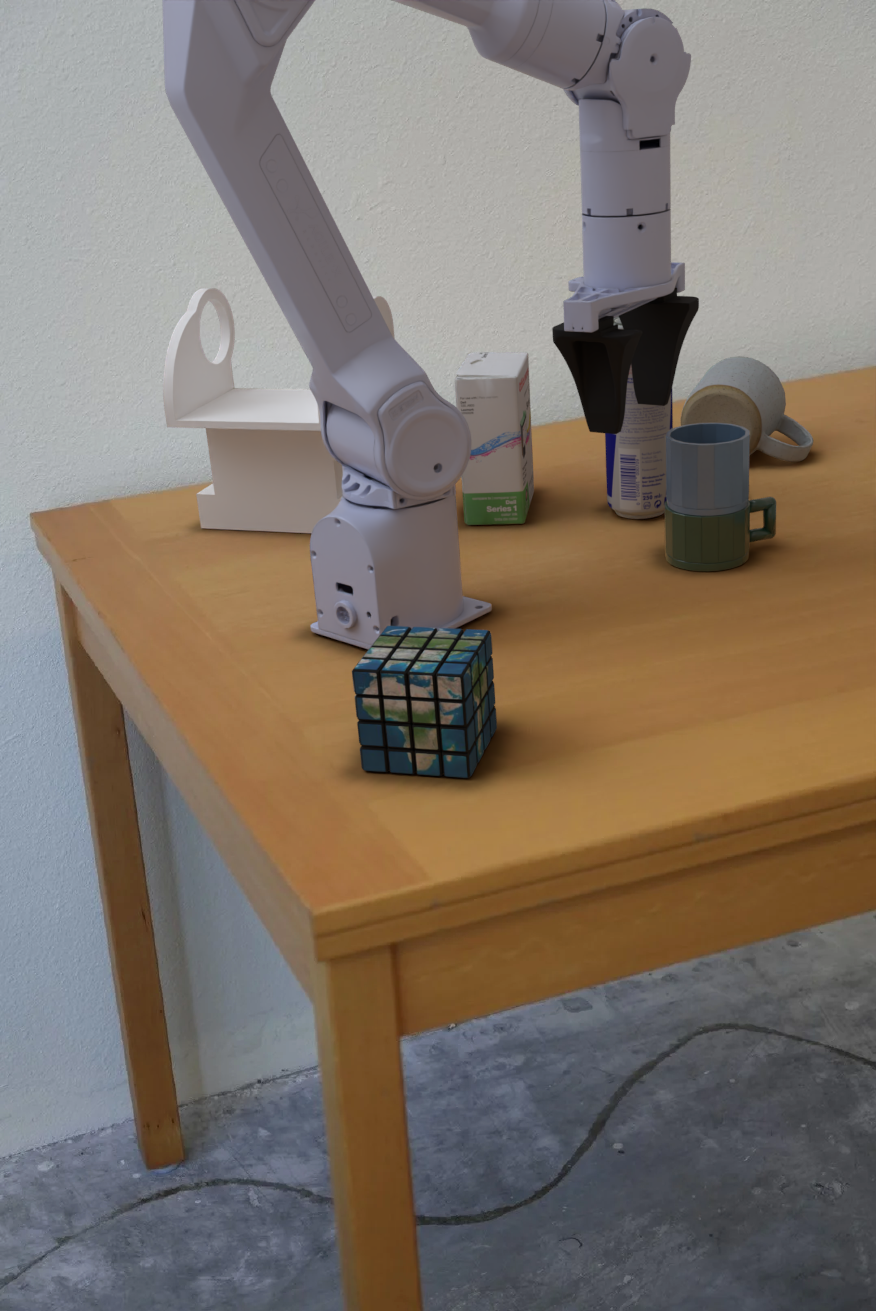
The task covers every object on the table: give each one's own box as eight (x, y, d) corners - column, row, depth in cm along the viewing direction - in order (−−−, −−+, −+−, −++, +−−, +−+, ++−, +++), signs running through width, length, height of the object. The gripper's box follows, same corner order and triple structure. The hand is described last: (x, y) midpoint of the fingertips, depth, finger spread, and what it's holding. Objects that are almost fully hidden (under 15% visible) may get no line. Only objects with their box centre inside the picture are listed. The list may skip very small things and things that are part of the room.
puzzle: (470, 780, 77) (463, 674, 74) (361, 772, 78) (350, 669, 76) (497, 728, 82) (491, 628, 79) (395, 722, 84) (385, 624, 81)
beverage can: (672, 499, 117) (670, 308, 111) (675, 520, 112) (673, 321, 106) (607, 502, 117) (601, 312, 111) (607, 522, 113) (601, 325, 107)
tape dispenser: (183, 539, 116) (149, 309, 109) (254, 489, 127) (227, 277, 120) (349, 547, 112) (324, 307, 105) (407, 495, 123) (389, 275, 116)
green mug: (687, 577, 101) (687, 521, 99) (651, 551, 106) (650, 498, 105) (795, 557, 103) (796, 502, 101) (755, 533, 108) (755, 480, 107)
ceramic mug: (675, 466, 125) (676, 376, 122) (698, 439, 131) (700, 353, 128) (802, 474, 121) (806, 381, 118) (819, 446, 127) (824, 358, 124)
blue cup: (765, 502, 102) (767, 432, 100) (705, 521, 99) (705, 449, 97) (709, 486, 106) (709, 418, 104) (650, 503, 103) (649, 434, 101)
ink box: (526, 525, 114) (518, 373, 109) (462, 526, 114) (452, 375, 110) (536, 491, 121) (530, 348, 116) (476, 492, 122) (467, 350, 117)
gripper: (618, 196, 103) (622, 388, 108) (517, 227, 92) (526, 440, 97) (713, 196, 99) (712, 395, 105) (620, 228, 88) (624, 449, 94)
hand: (629, 417), depth 101 cm, fingers open, 7 cm apart
